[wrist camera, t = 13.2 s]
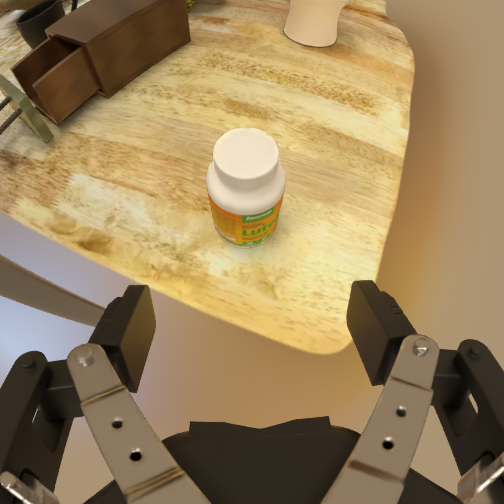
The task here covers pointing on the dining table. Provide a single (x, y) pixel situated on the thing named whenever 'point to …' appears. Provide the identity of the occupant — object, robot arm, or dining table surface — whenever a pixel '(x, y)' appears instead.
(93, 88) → the drawer
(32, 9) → the mug
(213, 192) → the supplement bottle
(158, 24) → the cabinet
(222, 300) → the dining table surface
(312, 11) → the cup
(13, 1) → the bowl
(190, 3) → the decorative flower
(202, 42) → the dining table surface
